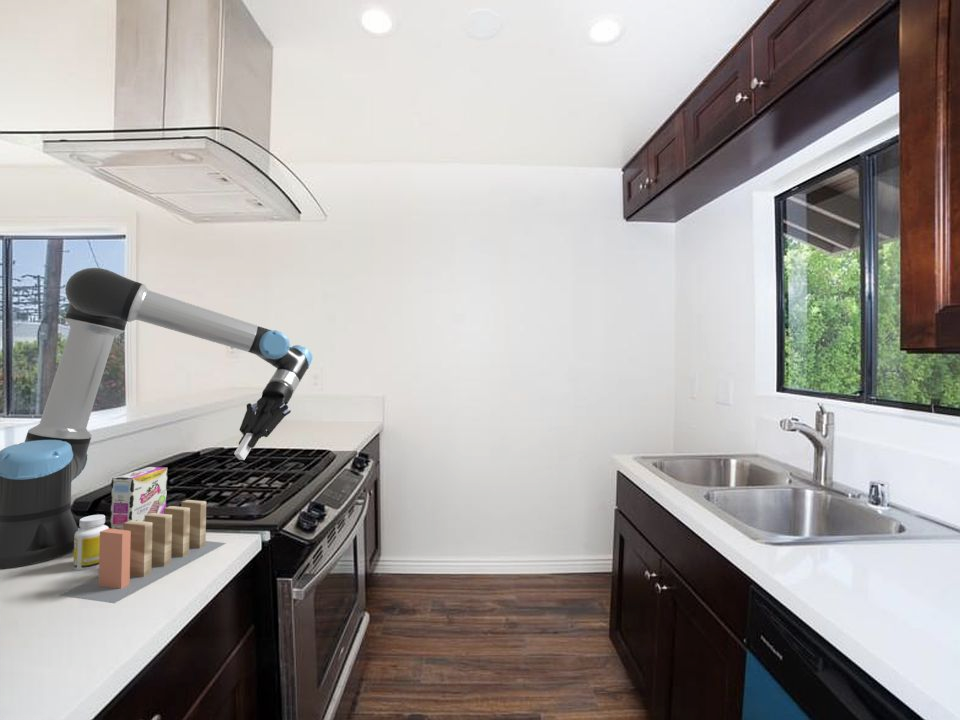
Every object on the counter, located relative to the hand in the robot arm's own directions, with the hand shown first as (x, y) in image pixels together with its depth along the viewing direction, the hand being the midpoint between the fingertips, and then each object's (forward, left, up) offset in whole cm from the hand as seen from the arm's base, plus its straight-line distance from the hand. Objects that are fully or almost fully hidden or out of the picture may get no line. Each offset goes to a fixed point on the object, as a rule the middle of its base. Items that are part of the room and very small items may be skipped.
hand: (239, 456), depth 114 cm
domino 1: (-11, -30, -17) cm, 36 cm away
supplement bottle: (-21, -20, -18) cm, 34 cm away
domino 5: (-5, -13, -17) cm, 22 cm away
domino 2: (-9, -26, -17) cm, 33 cm away
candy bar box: (-18, -9, -18) cm, 27 cm away
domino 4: (-6, -17, -17) cm, 25 cm away
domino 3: (-8, -22, -17) cm, 29 cm away
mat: (-8, -23, -18) cm, 30 cm away
